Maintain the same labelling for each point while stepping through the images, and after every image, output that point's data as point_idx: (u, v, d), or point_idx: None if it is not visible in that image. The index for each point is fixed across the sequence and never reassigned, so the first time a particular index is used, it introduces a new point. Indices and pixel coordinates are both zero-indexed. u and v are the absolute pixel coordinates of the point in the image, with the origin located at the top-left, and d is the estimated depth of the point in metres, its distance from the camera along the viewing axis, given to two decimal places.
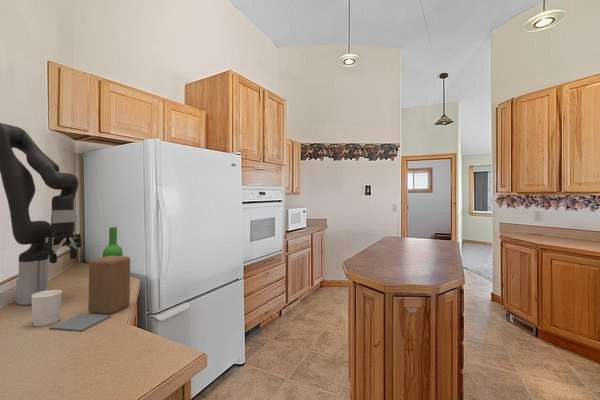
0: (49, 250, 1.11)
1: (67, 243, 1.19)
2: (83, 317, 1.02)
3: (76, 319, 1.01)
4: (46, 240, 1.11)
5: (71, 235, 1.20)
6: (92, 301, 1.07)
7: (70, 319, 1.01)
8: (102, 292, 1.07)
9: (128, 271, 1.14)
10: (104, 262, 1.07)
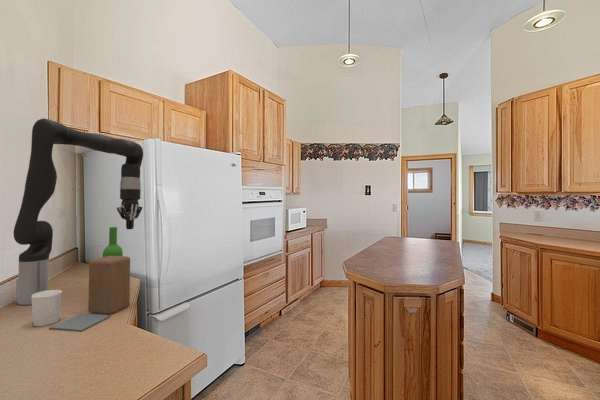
0: (127, 217, 1.19)
1: None
2: (83, 317, 1.02)
3: (76, 319, 1.01)
4: (120, 210, 1.17)
5: (137, 202, 1.25)
6: (92, 301, 1.07)
7: (70, 319, 1.01)
8: (102, 292, 1.07)
9: (128, 271, 1.14)
10: (104, 262, 1.07)
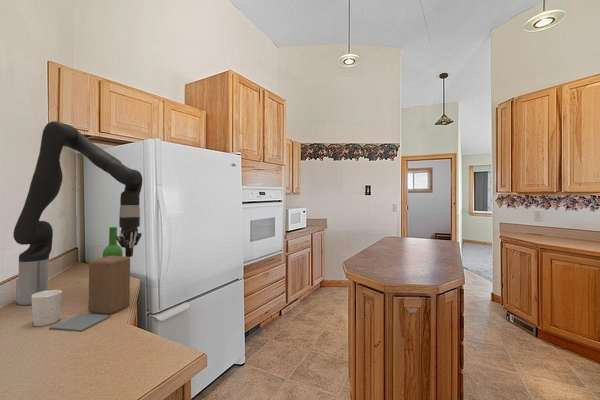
0: (126, 246, 1.19)
1: None
2: (83, 317, 1.02)
3: (76, 319, 1.01)
4: (119, 239, 1.17)
5: (136, 229, 1.25)
6: (92, 301, 1.07)
7: (70, 319, 1.01)
8: (102, 292, 1.07)
9: (128, 271, 1.14)
10: (104, 262, 1.07)
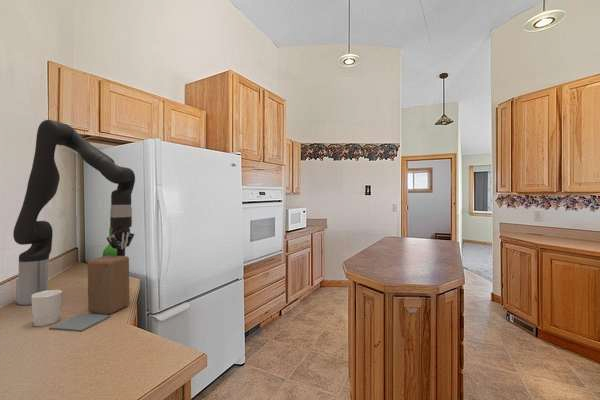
0: (118, 247, 1.14)
1: None
2: (83, 317, 1.02)
3: (76, 319, 1.01)
4: (110, 240, 1.12)
5: (128, 229, 1.20)
6: (91, 301, 1.07)
7: (70, 319, 1.01)
8: (101, 292, 1.06)
9: (127, 271, 1.14)
10: (102, 262, 1.06)
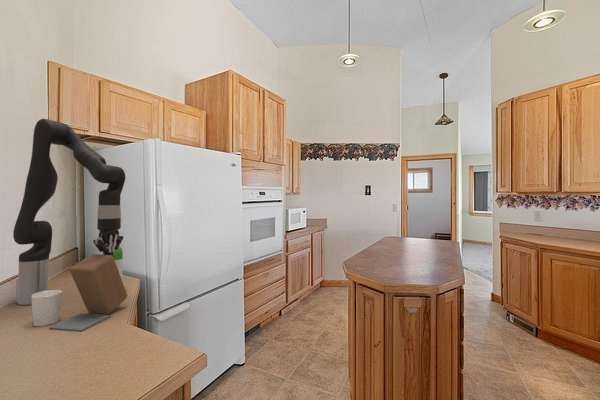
0: (105, 250, 1.08)
1: None
2: (83, 317, 1.02)
3: (76, 319, 1.01)
4: (96, 243, 1.05)
5: (117, 231, 1.14)
6: (87, 303, 1.06)
7: (70, 319, 1.01)
8: (94, 296, 1.03)
9: (115, 269, 1.08)
10: (85, 271, 0.99)
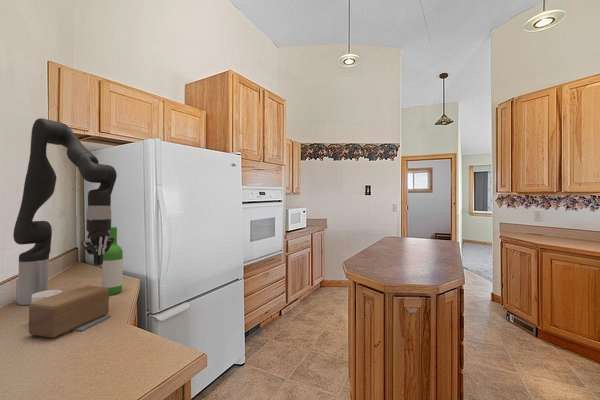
0: (94, 252, 1.03)
1: None
2: None
3: None
4: (85, 245, 1.01)
5: (108, 233, 1.09)
6: None
7: None
8: None
9: (72, 303, 0.92)
10: (47, 336, 0.88)
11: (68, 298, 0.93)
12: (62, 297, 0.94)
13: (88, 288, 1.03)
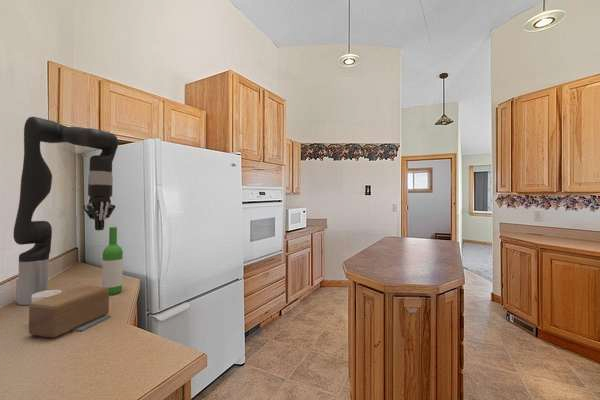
0: (95, 217, 1.05)
1: None
2: None
3: None
4: (86, 209, 1.02)
5: (109, 199, 1.11)
6: None
7: None
8: None
9: (72, 303, 0.92)
10: (47, 336, 0.88)
11: (68, 298, 0.93)
12: (62, 297, 0.94)
13: (88, 288, 1.03)
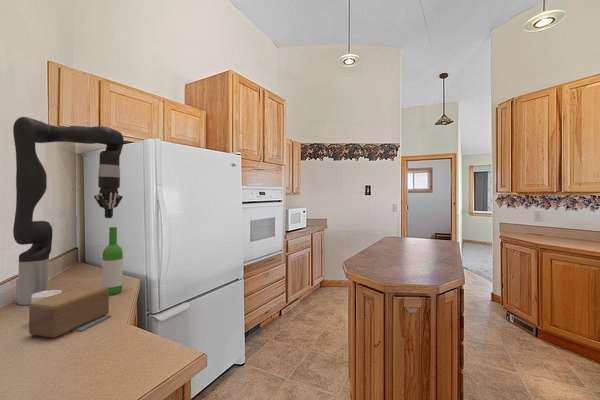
0: (105, 205, 1.17)
1: None
2: None
3: None
4: (97, 198, 1.14)
5: (117, 190, 1.23)
6: None
7: None
8: None
9: (72, 303, 0.92)
10: (48, 336, 0.88)
11: (68, 298, 0.93)
12: (62, 297, 0.94)
13: (88, 288, 1.03)
